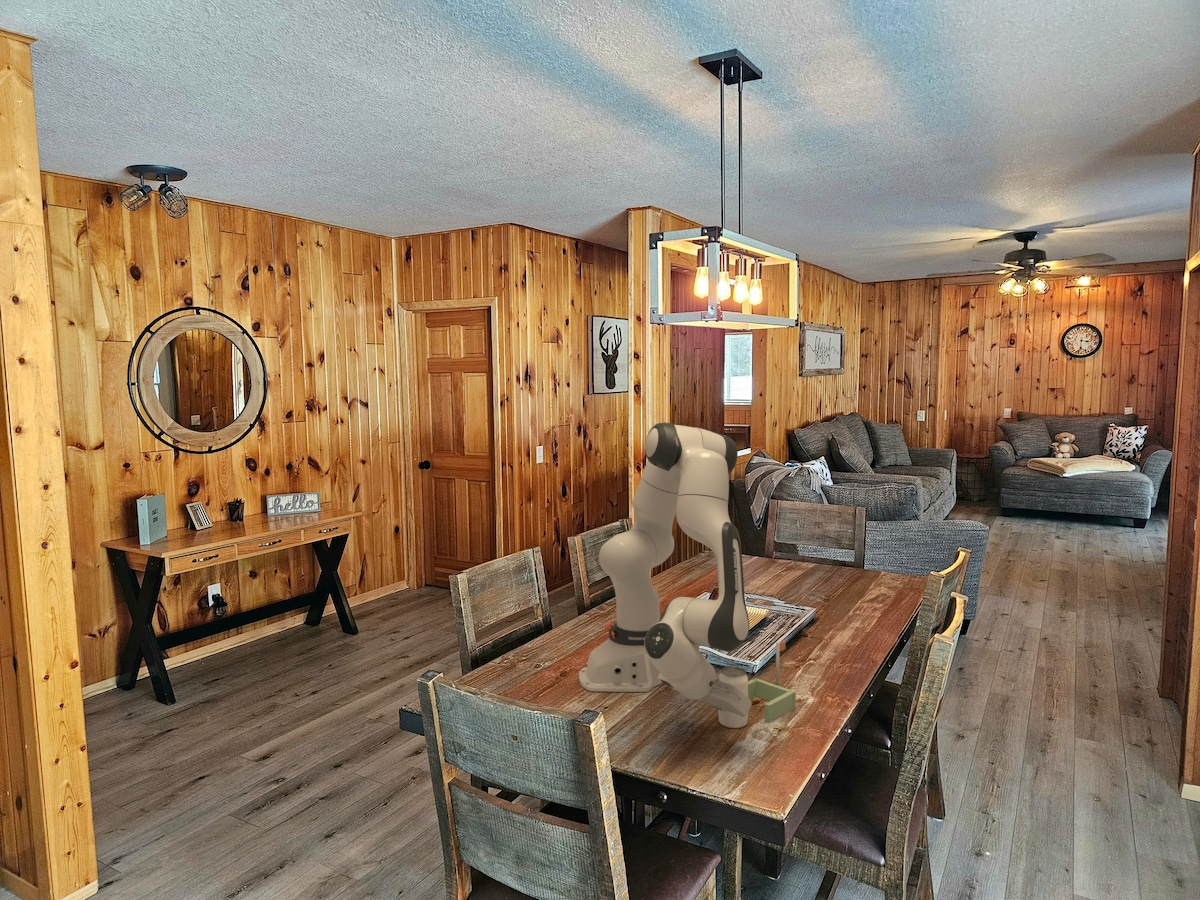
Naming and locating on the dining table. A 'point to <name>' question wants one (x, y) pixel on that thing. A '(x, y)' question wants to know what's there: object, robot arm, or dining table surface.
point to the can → (740, 681)
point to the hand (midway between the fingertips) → (722, 707)
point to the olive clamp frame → (773, 692)
